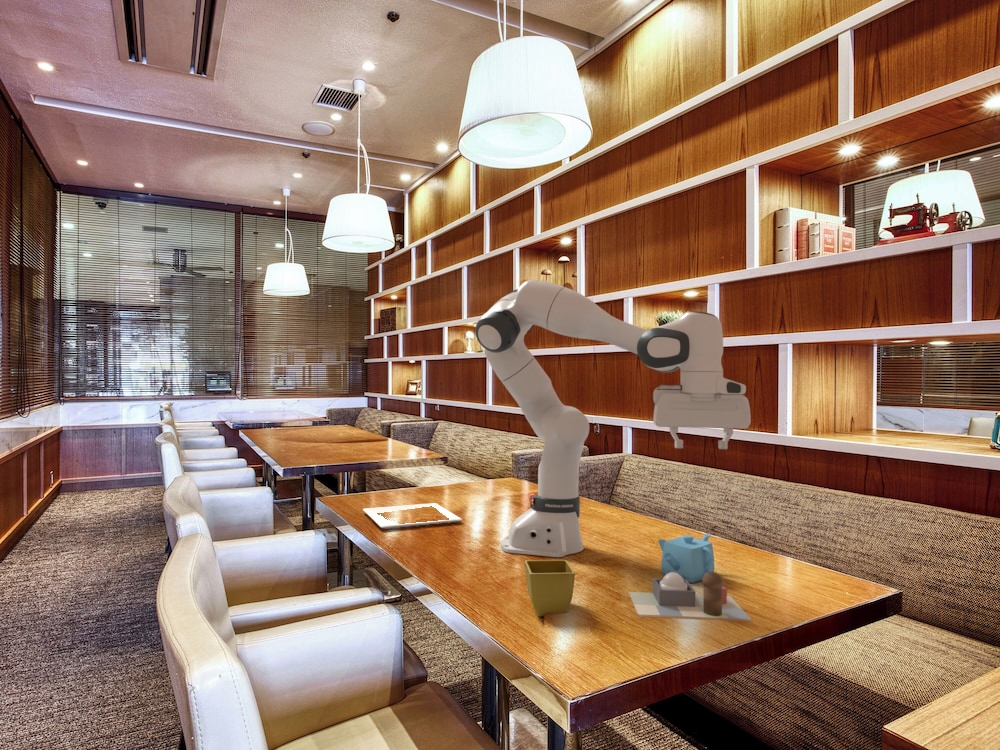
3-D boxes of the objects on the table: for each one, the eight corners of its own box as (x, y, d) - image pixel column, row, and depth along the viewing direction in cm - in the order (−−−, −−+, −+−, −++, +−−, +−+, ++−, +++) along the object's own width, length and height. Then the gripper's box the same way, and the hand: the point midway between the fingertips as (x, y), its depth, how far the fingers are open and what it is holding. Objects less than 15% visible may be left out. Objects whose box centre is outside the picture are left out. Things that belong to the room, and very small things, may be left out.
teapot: (690, 596, 123) (691, 548, 123) (636, 578, 134) (637, 535, 134) (733, 579, 135) (734, 535, 135) (680, 563, 146) (681, 523, 146)
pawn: (704, 615, 110) (704, 574, 111) (700, 608, 114) (700, 568, 114) (725, 616, 110) (725, 575, 110) (720, 609, 114) (720, 569, 114)
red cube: (713, 604, 116) (713, 589, 116) (705, 599, 119) (705, 584, 119) (726, 603, 117) (726, 588, 117) (718, 598, 120) (718, 583, 120)
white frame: (362, 514, 196) (362, 508, 196) (435, 508, 207) (435, 502, 207) (380, 533, 172) (380, 526, 172) (462, 525, 183) (462, 518, 183)
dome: (662, 602, 116) (662, 576, 116) (657, 593, 121) (657, 568, 121) (690, 603, 116) (690, 577, 116) (683, 594, 121) (683, 569, 121)
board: (638, 621, 110) (639, 600, 110) (628, 596, 123) (628, 577, 123) (753, 626, 108) (753, 605, 108) (730, 600, 121) (730, 581, 121)
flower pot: (523, 603, 118) (524, 559, 118) (566, 603, 118) (566, 559, 119) (529, 621, 109) (530, 573, 109) (575, 620, 110) (575, 573, 110)
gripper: (656, 384, 125) (655, 449, 124) (753, 386, 123) (753, 451, 123) (650, 384, 131) (649, 445, 131) (743, 385, 129) (742, 447, 129)
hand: (700, 448), depth 127 cm, fingers open, 8 cm apart
